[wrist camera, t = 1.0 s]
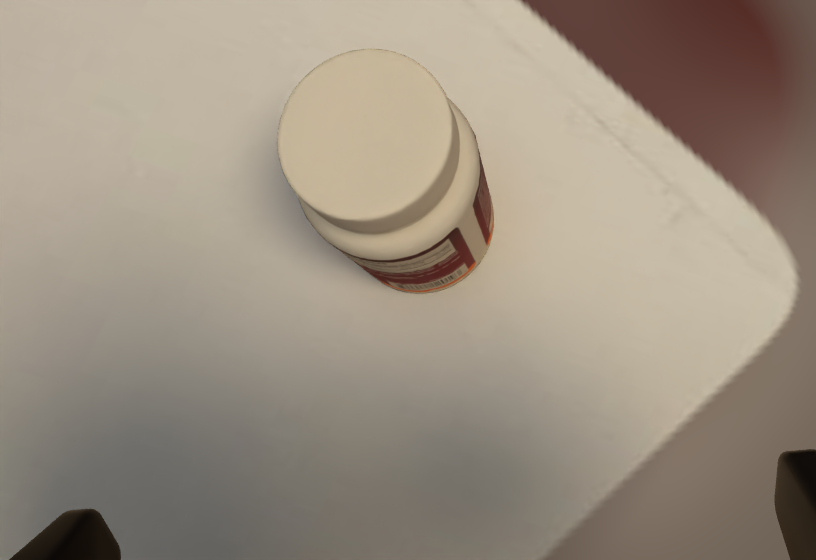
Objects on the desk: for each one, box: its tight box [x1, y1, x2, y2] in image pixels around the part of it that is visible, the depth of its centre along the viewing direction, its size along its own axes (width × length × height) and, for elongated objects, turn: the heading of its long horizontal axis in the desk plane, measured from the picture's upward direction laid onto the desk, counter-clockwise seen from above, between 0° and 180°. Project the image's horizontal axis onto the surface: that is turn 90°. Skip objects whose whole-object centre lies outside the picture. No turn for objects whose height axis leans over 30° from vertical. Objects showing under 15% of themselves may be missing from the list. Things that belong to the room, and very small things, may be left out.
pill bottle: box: [277, 49, 494, 293], centre depth 20 cm, size 5×5×8 cm
